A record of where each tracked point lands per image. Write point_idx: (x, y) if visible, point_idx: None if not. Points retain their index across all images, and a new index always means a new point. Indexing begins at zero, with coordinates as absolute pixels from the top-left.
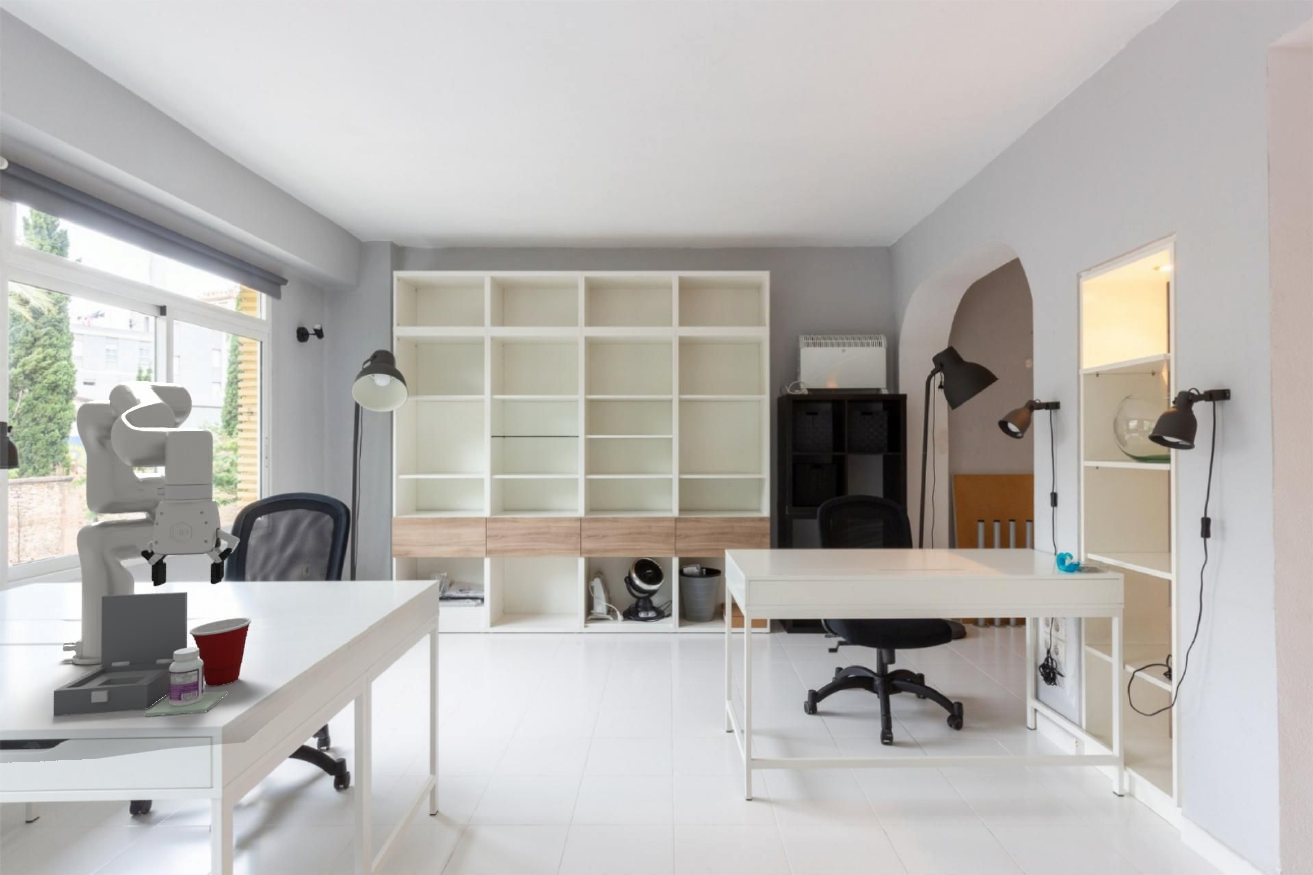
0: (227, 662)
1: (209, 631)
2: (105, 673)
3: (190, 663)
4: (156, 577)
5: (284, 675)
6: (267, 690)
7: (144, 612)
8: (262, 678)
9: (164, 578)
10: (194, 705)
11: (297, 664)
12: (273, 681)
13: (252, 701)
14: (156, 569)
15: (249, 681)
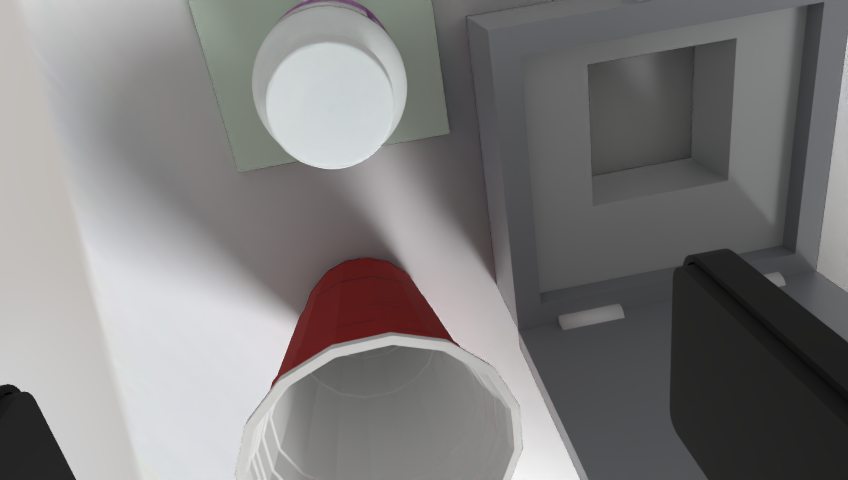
0: (309, 310)
1: (473, 464)
2: (775, 238)
3: (277, 51)
4: (752, 309)
5: (158, 367)
6: (100, 212)
7: None
8: (225, 336)
9: (699, 432)
10: (263, 10)
11: (194, 470)
12: (154, 307)
13: (65, 87)
14: (841, 387)
15: (255, 306)
